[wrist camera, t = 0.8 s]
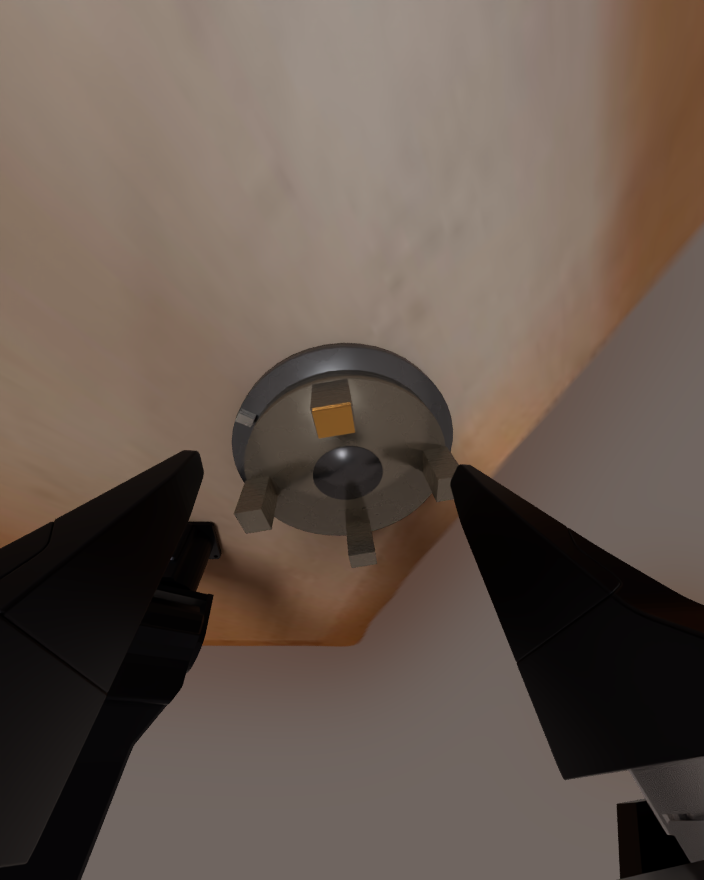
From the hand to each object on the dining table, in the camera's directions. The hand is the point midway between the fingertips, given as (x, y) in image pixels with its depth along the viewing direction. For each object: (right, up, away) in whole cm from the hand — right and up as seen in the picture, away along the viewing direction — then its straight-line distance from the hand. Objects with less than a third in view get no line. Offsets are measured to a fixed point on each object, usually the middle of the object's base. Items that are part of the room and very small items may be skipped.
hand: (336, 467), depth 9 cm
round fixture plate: (0, -1, +15) cm, 15 cm away
